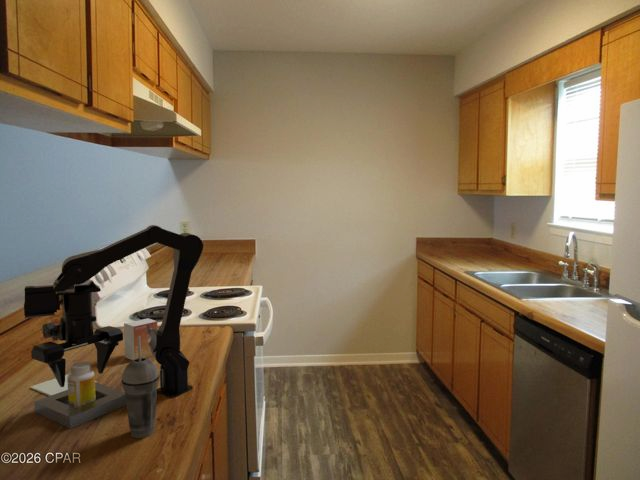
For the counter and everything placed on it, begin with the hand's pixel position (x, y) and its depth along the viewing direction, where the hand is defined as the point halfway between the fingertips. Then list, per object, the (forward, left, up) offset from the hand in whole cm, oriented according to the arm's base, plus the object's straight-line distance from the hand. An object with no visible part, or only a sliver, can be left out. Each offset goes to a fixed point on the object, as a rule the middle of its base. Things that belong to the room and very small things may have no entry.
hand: (81, 379), depth 110 cm
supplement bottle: (0, 0, -7) cm, 7 cm away
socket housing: (0, 0, -7) cm, 7 cm away
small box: (+18, -30, -7) cm, 36 cm away
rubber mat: (+16, -5, -7) cm, 18 cm away
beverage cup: (-21, 0, -7) cm, 22 cm away
